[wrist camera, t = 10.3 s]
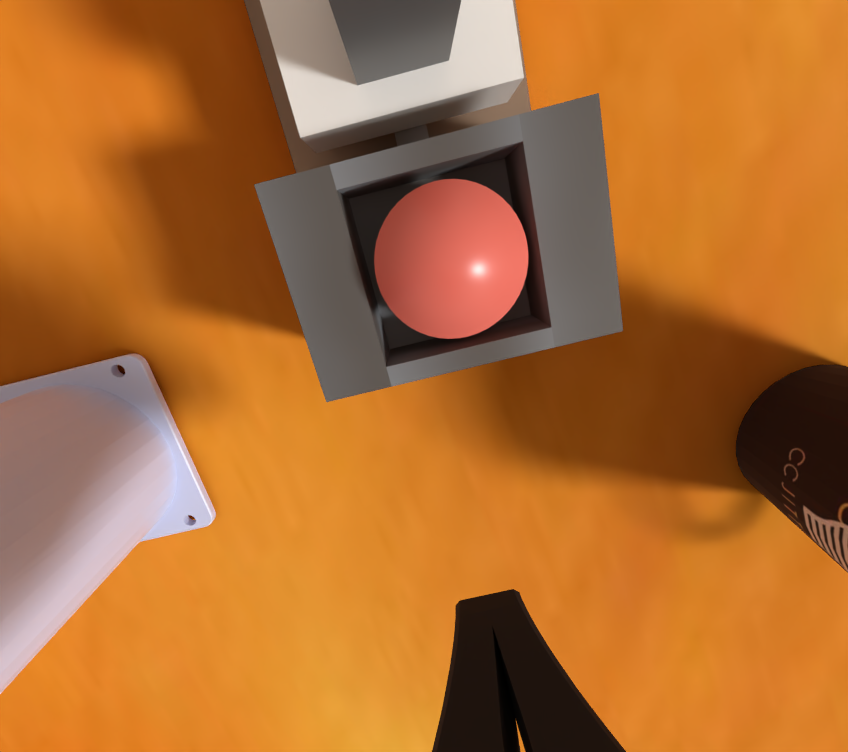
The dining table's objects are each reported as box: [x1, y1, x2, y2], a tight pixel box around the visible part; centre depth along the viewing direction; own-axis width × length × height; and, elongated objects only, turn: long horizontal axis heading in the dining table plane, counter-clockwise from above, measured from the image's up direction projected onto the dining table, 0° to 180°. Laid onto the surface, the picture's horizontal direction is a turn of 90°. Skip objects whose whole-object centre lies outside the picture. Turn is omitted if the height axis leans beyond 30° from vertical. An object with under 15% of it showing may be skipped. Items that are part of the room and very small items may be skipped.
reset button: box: [374, 179, 528, 339], centre depth 11 cm, size 4×4×2 cm
